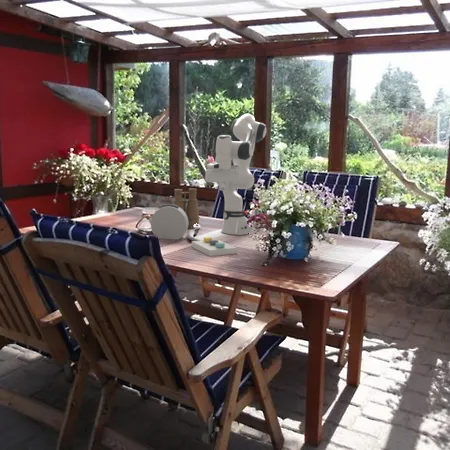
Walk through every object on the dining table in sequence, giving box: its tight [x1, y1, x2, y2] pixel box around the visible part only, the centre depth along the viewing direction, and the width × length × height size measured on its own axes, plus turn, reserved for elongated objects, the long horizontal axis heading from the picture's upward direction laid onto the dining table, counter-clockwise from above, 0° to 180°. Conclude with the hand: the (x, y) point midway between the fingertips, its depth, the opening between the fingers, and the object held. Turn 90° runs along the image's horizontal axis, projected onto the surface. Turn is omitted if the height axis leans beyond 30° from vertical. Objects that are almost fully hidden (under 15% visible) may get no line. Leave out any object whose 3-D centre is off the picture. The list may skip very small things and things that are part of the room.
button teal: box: [215, 242, 226, 248], centre depth 279 cm, size 5×5×5 cm
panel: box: [191, 238, 238, 257], centre depth 285 cm, size 16×22×3 cm
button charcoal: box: [209, 239, 219, 245], centre depth 285 cm, size 5×5×5 cm
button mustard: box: [203, 236, 213, 242], centre depth 291 cm, size 5×5×5 cm
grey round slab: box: [150, 203, 189, 240], centre depth 310 cm, size 21×8×20 cm, turn 84°
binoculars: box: [172, 187, 201, 229], centre depth 341 cm, size 21×10×25 cm, turn 125°
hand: (222, 190), depth 292 cm, fingers closed
